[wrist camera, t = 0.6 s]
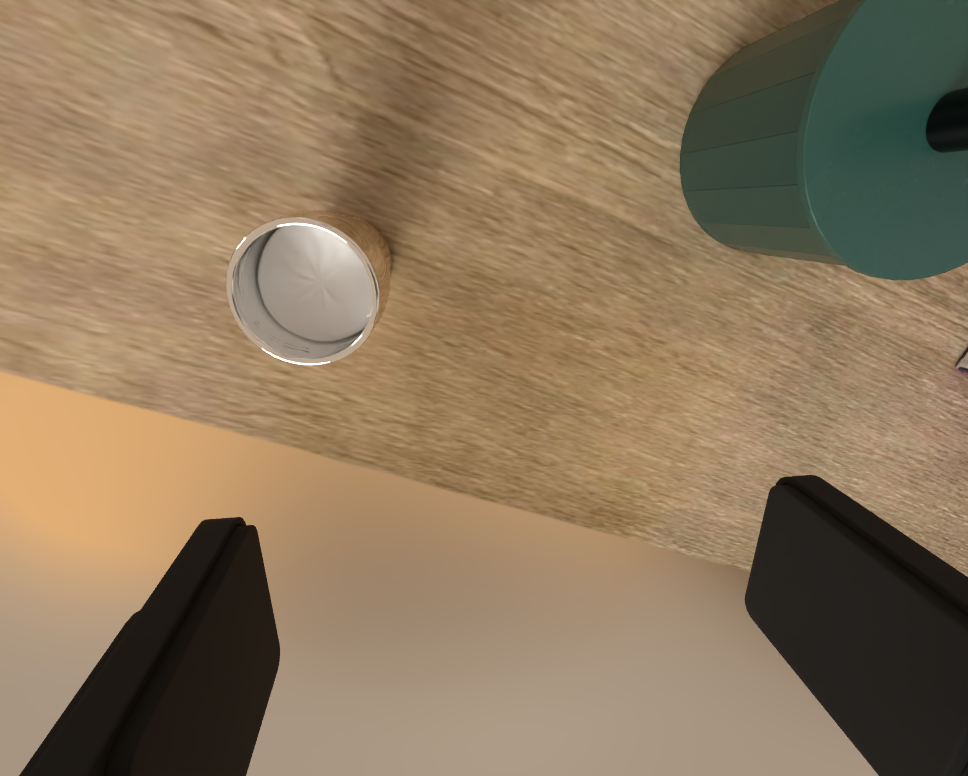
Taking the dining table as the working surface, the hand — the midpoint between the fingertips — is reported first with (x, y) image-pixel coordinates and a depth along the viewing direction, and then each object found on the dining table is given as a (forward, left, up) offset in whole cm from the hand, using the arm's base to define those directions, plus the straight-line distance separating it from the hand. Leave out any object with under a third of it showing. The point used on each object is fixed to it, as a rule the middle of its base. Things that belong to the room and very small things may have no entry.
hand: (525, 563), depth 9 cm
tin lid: (-9, +25, -18) cm, 32 cm away
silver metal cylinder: (-3, -7, -31) cm, 31 cm away
